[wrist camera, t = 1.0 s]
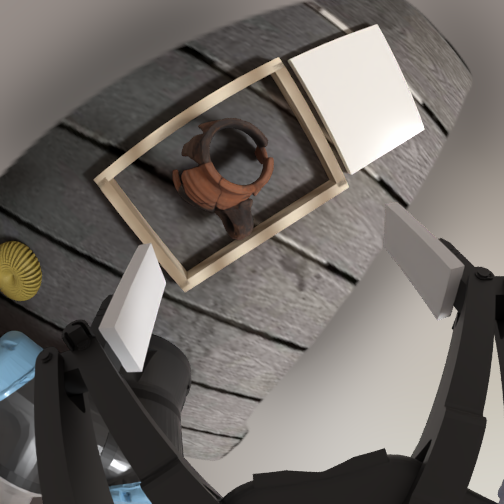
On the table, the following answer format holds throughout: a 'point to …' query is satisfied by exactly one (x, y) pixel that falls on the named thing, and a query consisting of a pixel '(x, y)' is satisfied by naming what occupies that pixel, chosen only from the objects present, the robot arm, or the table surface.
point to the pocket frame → (259, 232)
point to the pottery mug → (222, 179)
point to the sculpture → (19, 271)
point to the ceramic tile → (359, 95)
